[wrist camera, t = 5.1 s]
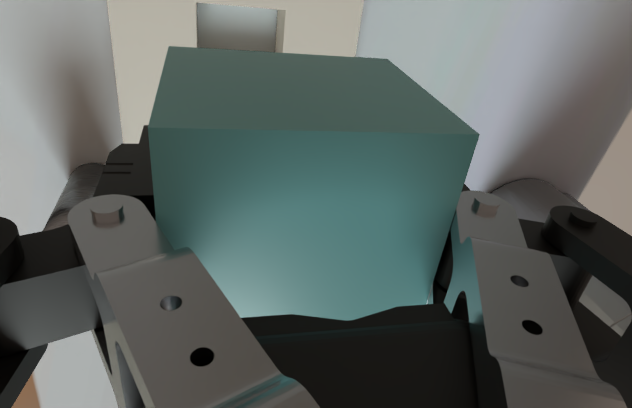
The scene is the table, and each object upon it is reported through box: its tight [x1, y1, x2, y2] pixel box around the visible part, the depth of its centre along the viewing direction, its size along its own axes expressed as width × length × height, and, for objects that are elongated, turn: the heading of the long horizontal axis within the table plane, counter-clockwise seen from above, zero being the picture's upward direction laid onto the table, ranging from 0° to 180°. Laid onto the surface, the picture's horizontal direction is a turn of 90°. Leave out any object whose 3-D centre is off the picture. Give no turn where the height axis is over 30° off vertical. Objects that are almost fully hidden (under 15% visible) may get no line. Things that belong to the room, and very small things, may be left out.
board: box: [107, 0, 364, 144], centre depth 26 cm, size 13×13×3 cm
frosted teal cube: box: [148, 46, 479, 321], centre depth 11 cm, size 6×6×5 cm
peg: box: [43, 163, 105, 231], centre depth 27 cm, size 3×3×8 cm
